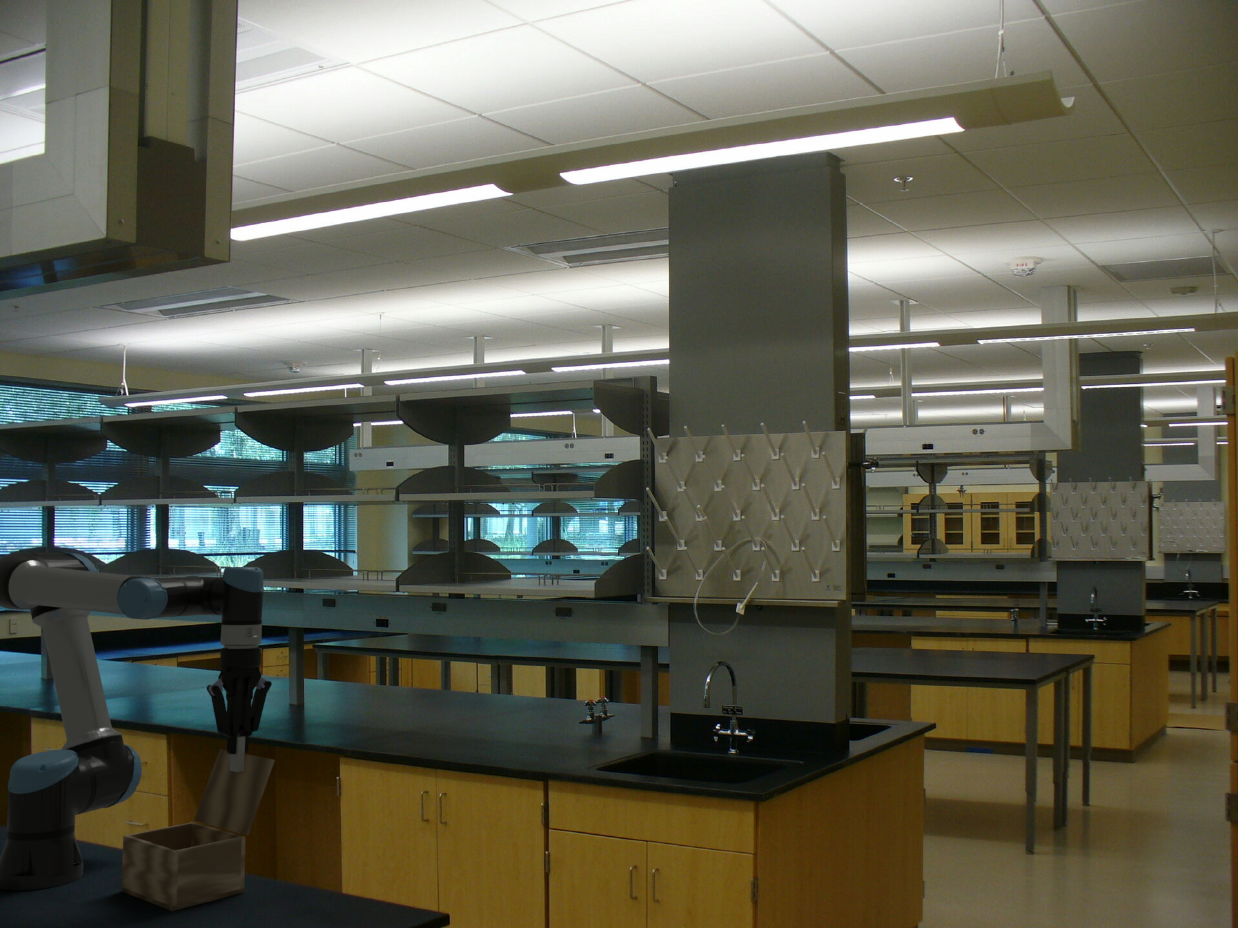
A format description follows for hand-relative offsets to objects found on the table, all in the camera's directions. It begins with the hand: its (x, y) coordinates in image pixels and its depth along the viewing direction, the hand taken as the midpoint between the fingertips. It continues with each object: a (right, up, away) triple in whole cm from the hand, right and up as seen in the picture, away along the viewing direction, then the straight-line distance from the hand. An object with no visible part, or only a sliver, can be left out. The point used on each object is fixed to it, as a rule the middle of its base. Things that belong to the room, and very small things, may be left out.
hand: (236, 770), depth 216 cm
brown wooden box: (-7, -20, -9) cm, 23 cm away
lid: (-1, -4, -1) cm, 4 cm away
